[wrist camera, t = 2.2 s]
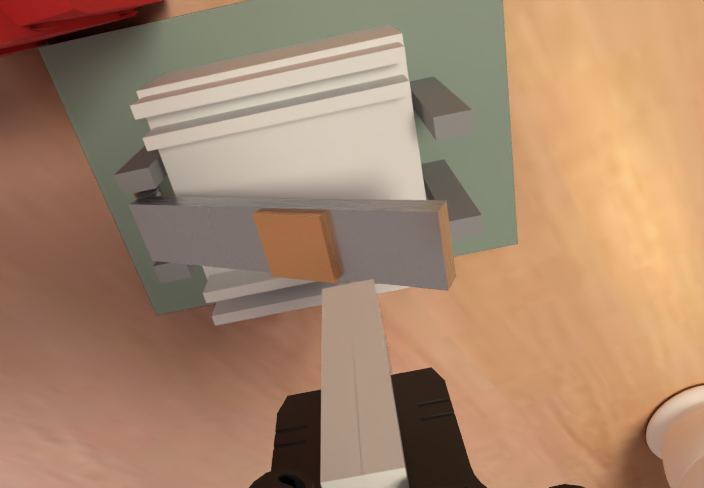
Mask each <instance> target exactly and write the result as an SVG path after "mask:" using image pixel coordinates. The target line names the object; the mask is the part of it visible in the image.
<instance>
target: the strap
mask: <svg viewBox="0 0 704 488" xmlns="http://www.w3.org/2000/svg"><path fill="white" fill-rule="evenodd" d="M133 194H134V197H135V199H136V200H135V201H134V202H132V203H130V204H128V205H129V207H130V209H131V212H132V214H133V216H134V219H135V221H136V224H137V226H138V228H139V231H140V233H141V235H142V238H143V240H144V242H145V245H146V247H147V249H148V252H149V254H150V256H151V259H152V261H159V262H168V263H178V264H188V265H198V266H208V267H218V268H228V269H238V270H248V271H258V272H268V273H271V275H272V277H280V278H290V279H300V280H309V281H319V282H328V283H336V282H337V281H338V280H348V281H358V282H360V281H365V280H370V279H374V283H378V284H388V285H398V286H408V287H418V288H428V289H438V290H449V288H450V287H451V285H452V283H453V281H454V280H455V278H456V272H455V264H454V256H453V248H452V240H451V232H450V224H449V216H448V208H447V200H379V199H309V198H239V197H168V196H163V195H162V192H161V190H160V187H159V185H158V187H157V188H155V189H150V190H146V191H141V192H136V193H133Z"/></svg>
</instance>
